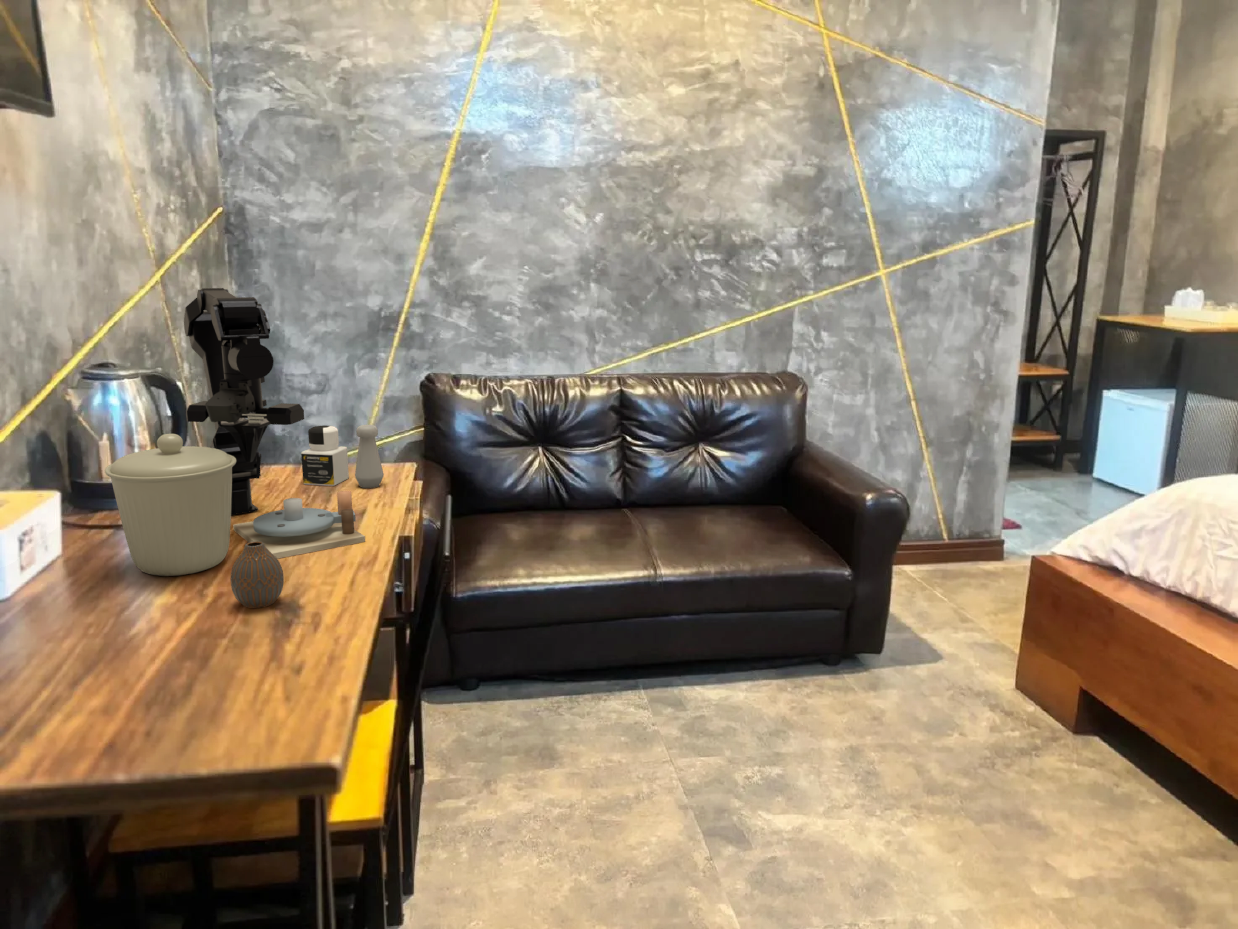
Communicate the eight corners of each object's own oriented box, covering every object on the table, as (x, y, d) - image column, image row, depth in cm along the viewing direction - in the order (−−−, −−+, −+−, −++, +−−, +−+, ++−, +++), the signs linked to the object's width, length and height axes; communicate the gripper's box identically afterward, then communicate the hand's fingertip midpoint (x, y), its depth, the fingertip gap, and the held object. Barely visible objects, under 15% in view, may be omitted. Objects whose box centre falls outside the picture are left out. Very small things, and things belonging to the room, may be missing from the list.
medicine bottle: (302, 484, 192) (298, 429, 189) (318, 476, 199) (315, 423, 196) (334, 486, 191) (330, 430, 188) (349, 478, 198) (346, 424, 195)
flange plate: (254, 540, 147) (252, 510, 146) (252, 518, 159) (250, 491, 158) (359, 529, 153) (357, 500, 152) (350, 509, 165) (348, 482, 164)
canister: (99, 565, 142) (83, 433, 137) (215, 540, 155) (203, 418, 150) (144, 595, 130) (127, 451, 125) (265, 565, 143) (254, 434, 138)
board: (233, 530, 161) (231, 502, 159) (322, 515, 170) (320, 489, 169) (269, 560, 145) (267, 530, 144) (365, 541, 155) (363, 513, 154)
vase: (235, 615, 123) (229, 554, 121) (230, 598, 129) (225, 540, 127) (288, 607, 126) (284, 547, 124) (281, 591, 132) (277, 533, 130)
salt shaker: (379, 489, 189) (376, 428, 186) (352, 489, 189) (348, 427, 186) (387, 482, 194) (384, 423, 192) (360, 482, 195) (357, 422, 192)
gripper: (162, 377, 147) (171, 470, 151) (270, 380, 145) (278, 474, 149) (200, 368, 158) (209, 456, 162) (302, 371, 156) (308, 459, 159)
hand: (249, 461), depth 158 cm, fingers closed
